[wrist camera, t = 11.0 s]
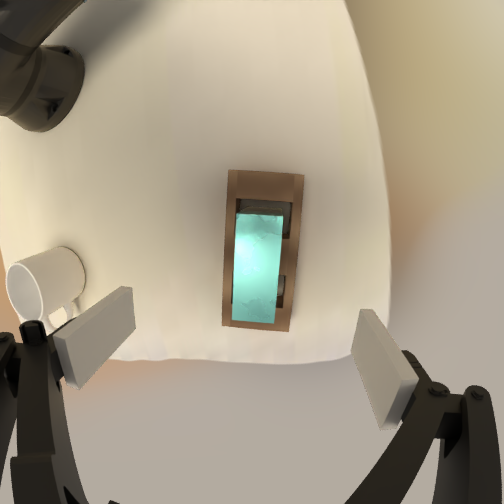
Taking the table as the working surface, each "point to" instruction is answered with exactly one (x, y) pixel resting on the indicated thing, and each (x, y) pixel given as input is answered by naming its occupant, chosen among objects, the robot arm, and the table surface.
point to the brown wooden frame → (287, 191)
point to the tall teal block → (256, 263)
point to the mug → (45, 284)
